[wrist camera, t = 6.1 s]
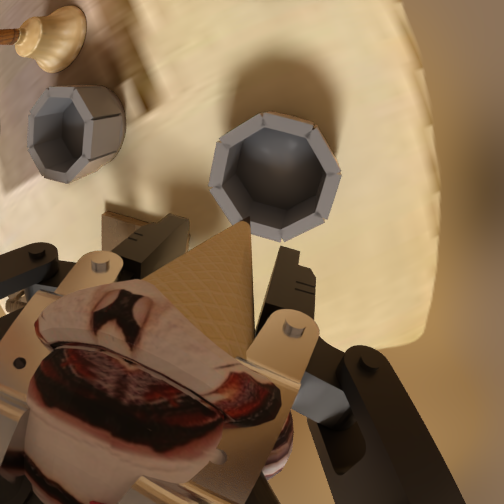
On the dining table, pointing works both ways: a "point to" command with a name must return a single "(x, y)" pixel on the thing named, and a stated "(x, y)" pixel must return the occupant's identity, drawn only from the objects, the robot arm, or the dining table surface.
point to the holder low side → (275, 175)
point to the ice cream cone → (148, 377)
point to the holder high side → (75, 131)
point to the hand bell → (49, 38)
